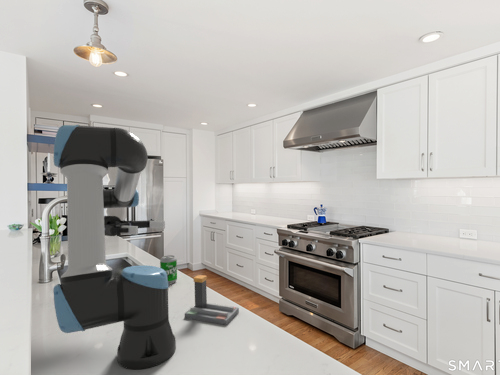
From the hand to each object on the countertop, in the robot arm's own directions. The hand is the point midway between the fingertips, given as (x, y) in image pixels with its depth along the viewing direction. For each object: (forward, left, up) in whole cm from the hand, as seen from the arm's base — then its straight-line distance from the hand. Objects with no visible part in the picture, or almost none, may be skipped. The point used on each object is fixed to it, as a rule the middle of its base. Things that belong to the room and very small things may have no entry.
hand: (151, 227), depth 102 cm
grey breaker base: (+7, -20, -31) cm, 37 cm away
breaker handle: (+7, -15, -29) cm, 34 cm away
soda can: (+31, +16, -31) cm, 47 cm away
